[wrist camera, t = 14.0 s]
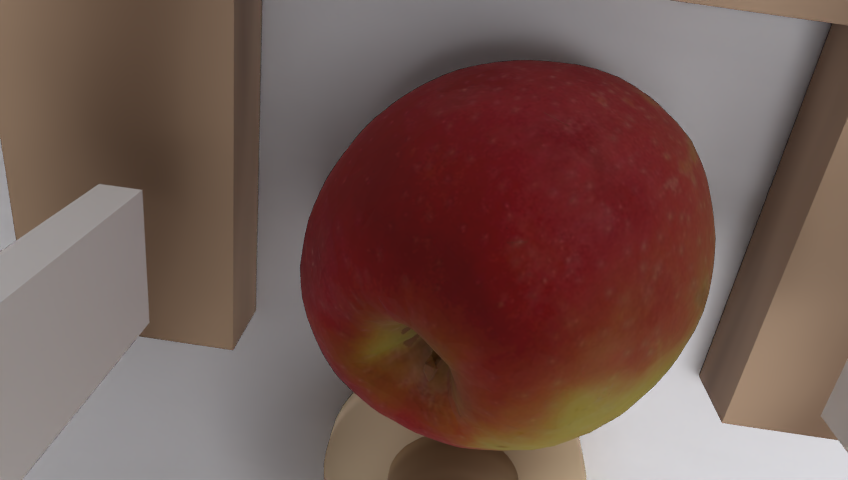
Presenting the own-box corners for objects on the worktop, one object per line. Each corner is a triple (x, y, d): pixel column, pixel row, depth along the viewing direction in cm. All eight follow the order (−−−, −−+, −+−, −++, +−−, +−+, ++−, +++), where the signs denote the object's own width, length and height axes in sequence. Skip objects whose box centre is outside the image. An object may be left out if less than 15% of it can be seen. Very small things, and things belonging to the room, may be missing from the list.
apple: (354, 10, 16) (249, 84, 8) (697, 54, 16) (887, 166, 8) (336, 289, 19) (250, 513, 12) (620, 327, 19) (709, 577, 12)
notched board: (70, 283, 19) (28, 319, 18) (5, -258, 14) (-65, -285, 12) (888, 404, 19) (931, 454, 17) (1160, -97, 14) (1264, -100, 12)
